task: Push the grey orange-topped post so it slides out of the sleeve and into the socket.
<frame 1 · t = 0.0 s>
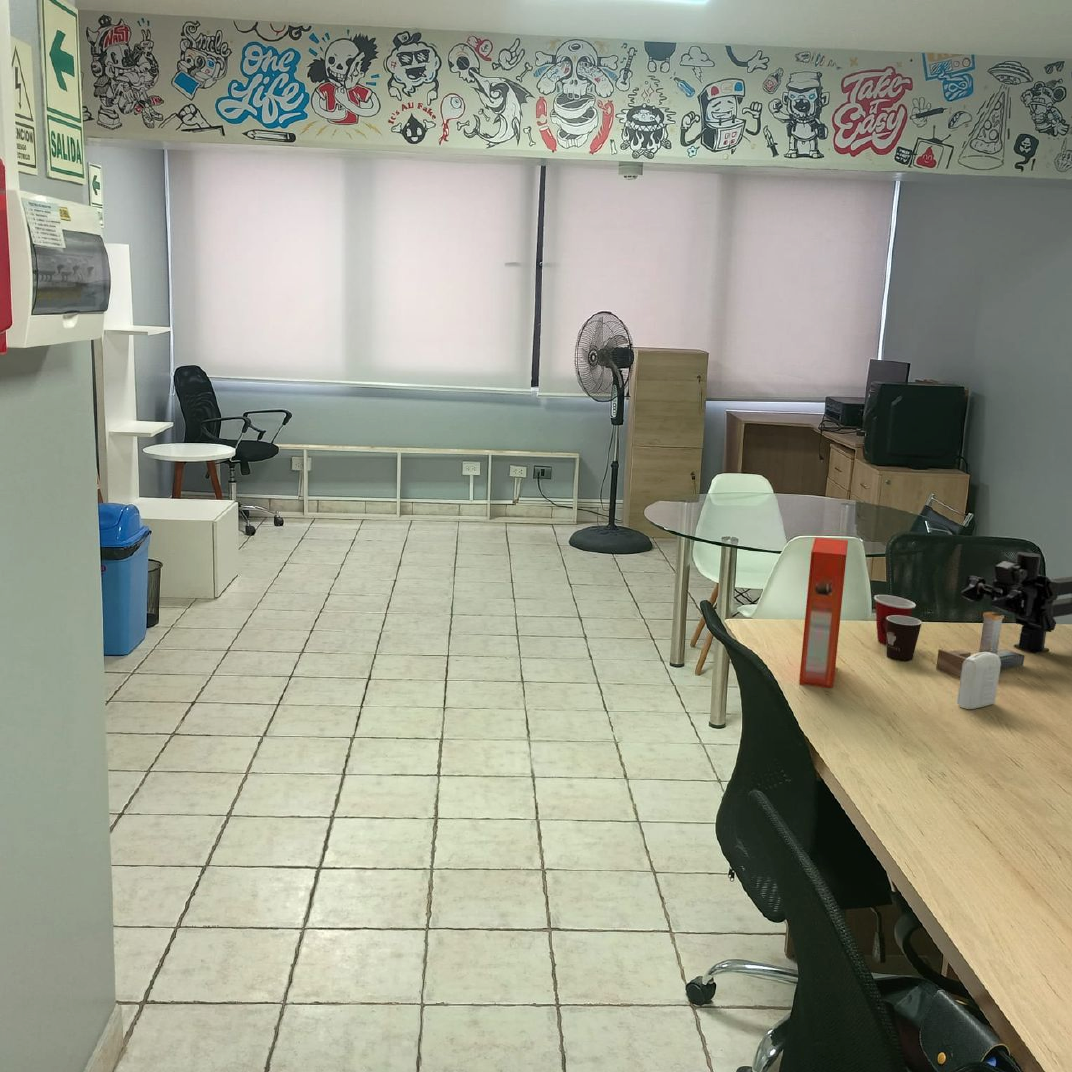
hand: (976, 598, 277), 17 cm above the table, tool horizontal, fingers open, 9 cm apart
photo printer: (975, 705, 249), on the table
socket: (975, 669, 273), on the table
sleeve: (998, 665, 278), on the table
plastic cup: (889, 643, 293), on the table
grey orange-topped post: (998, 638, 276), point 7 cm above the table, slide at 0.0 cm
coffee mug: (897, 656, 282), on the table
file binder: (816, 675, 264), on the table
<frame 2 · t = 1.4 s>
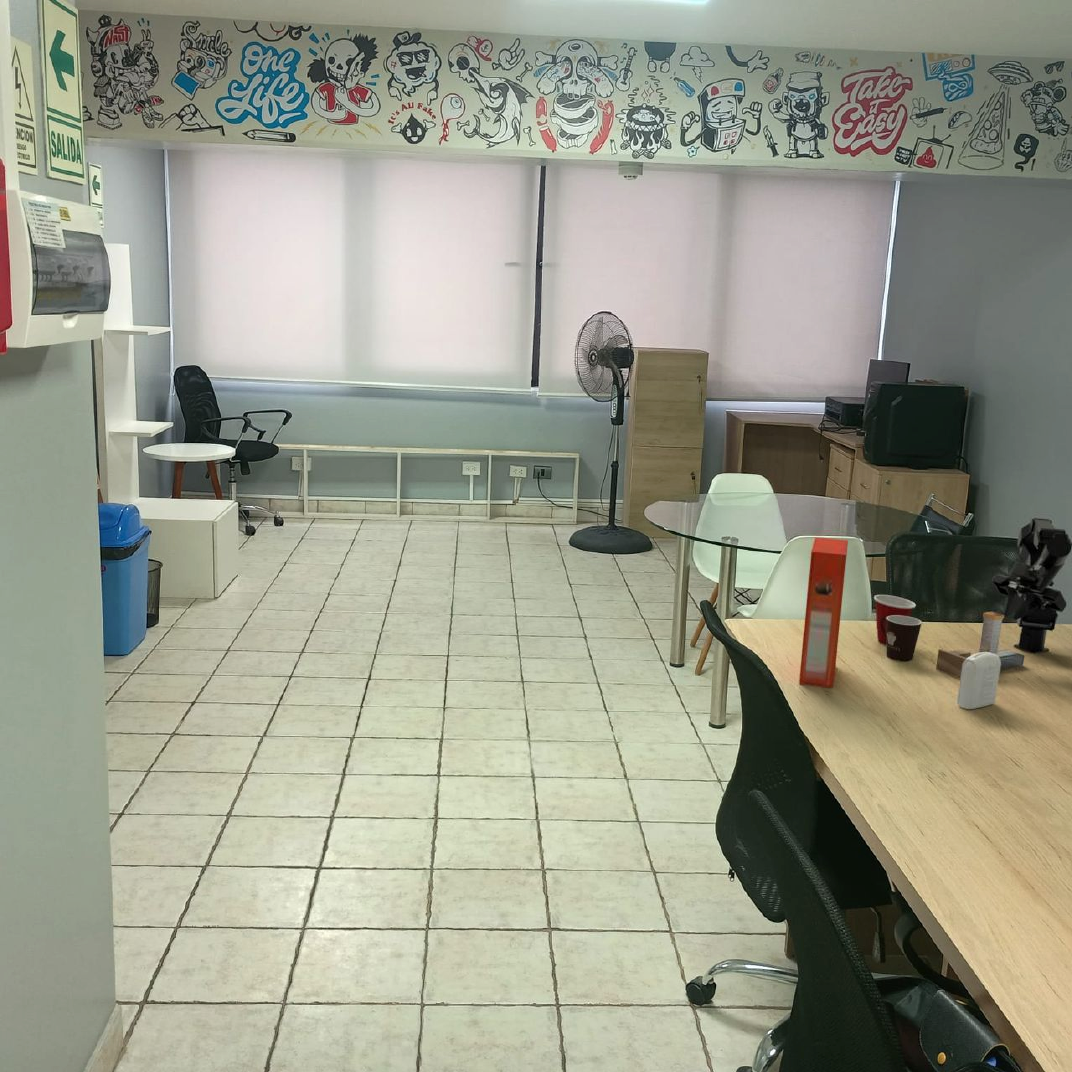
hand: (1009, 617, 276), 13 cm above the table, tool tilted 45°, fingers closed
nothing on the table moved.
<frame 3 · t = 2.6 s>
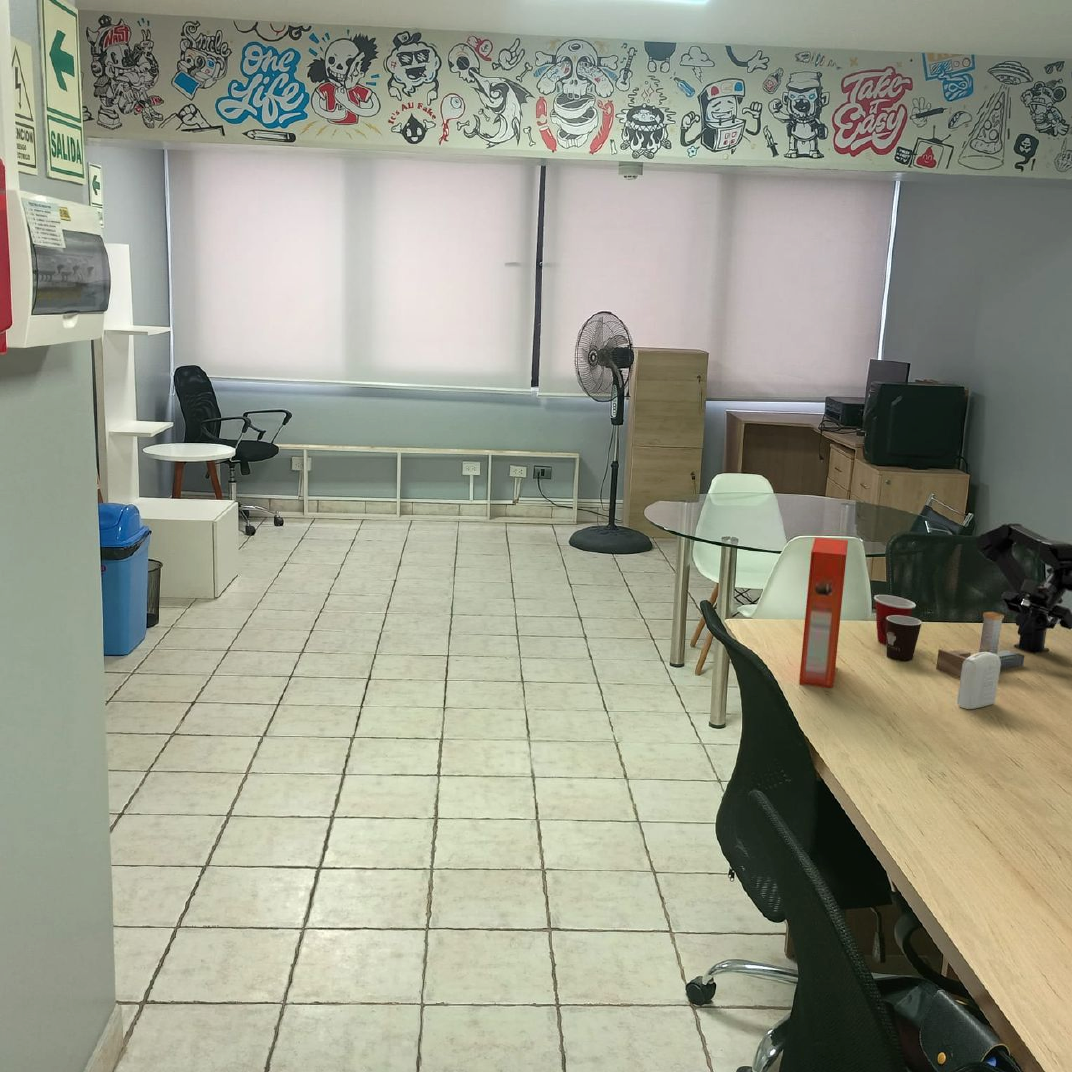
hand: (1019, 634, 279), 8 cm above the table, tool tilted 45°, fingers closed
nothing on the table moved.
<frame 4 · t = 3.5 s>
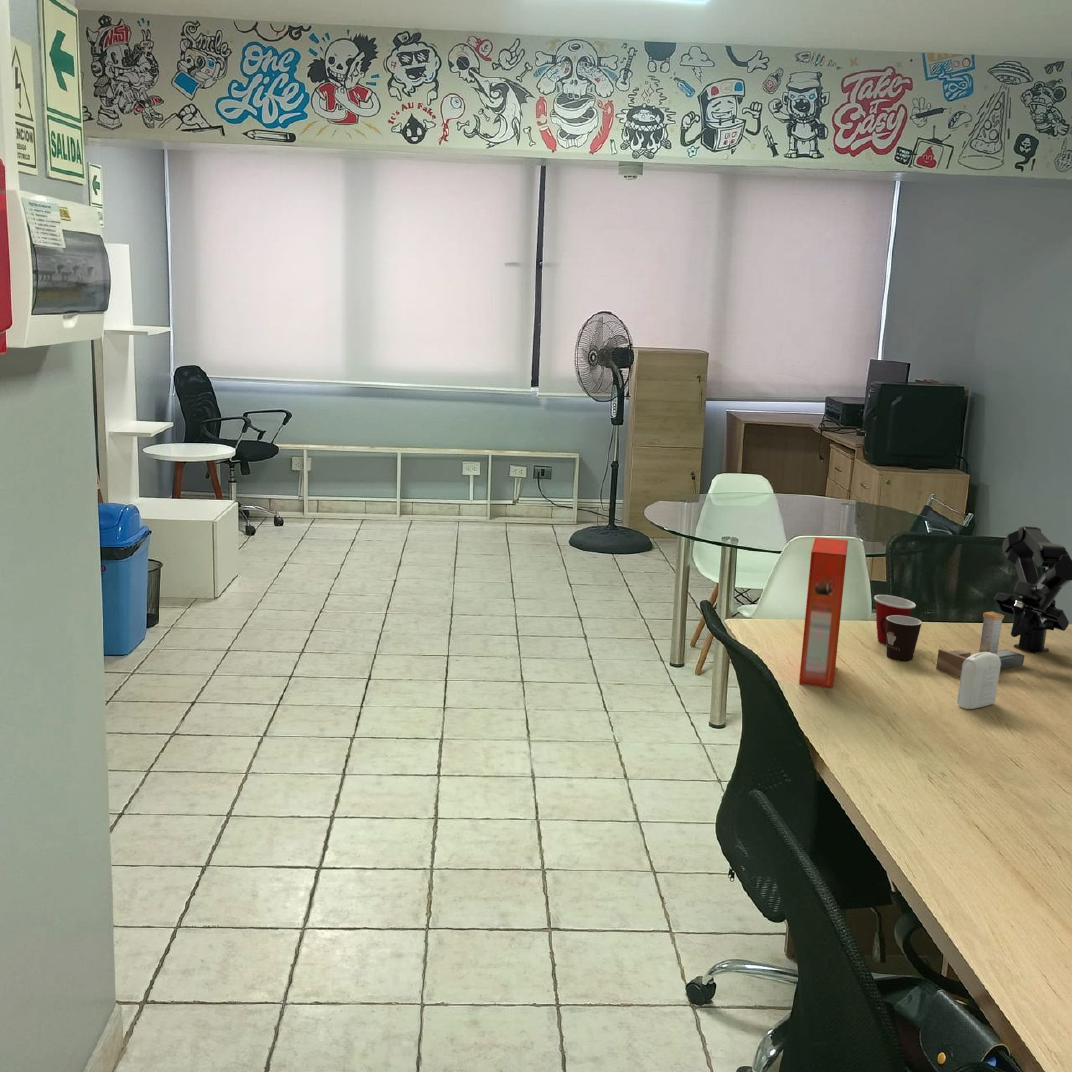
hand: (1012, 635, 278), 8 cm above the table, tool tilted 45°, fingers closed
nothing on the table moved.
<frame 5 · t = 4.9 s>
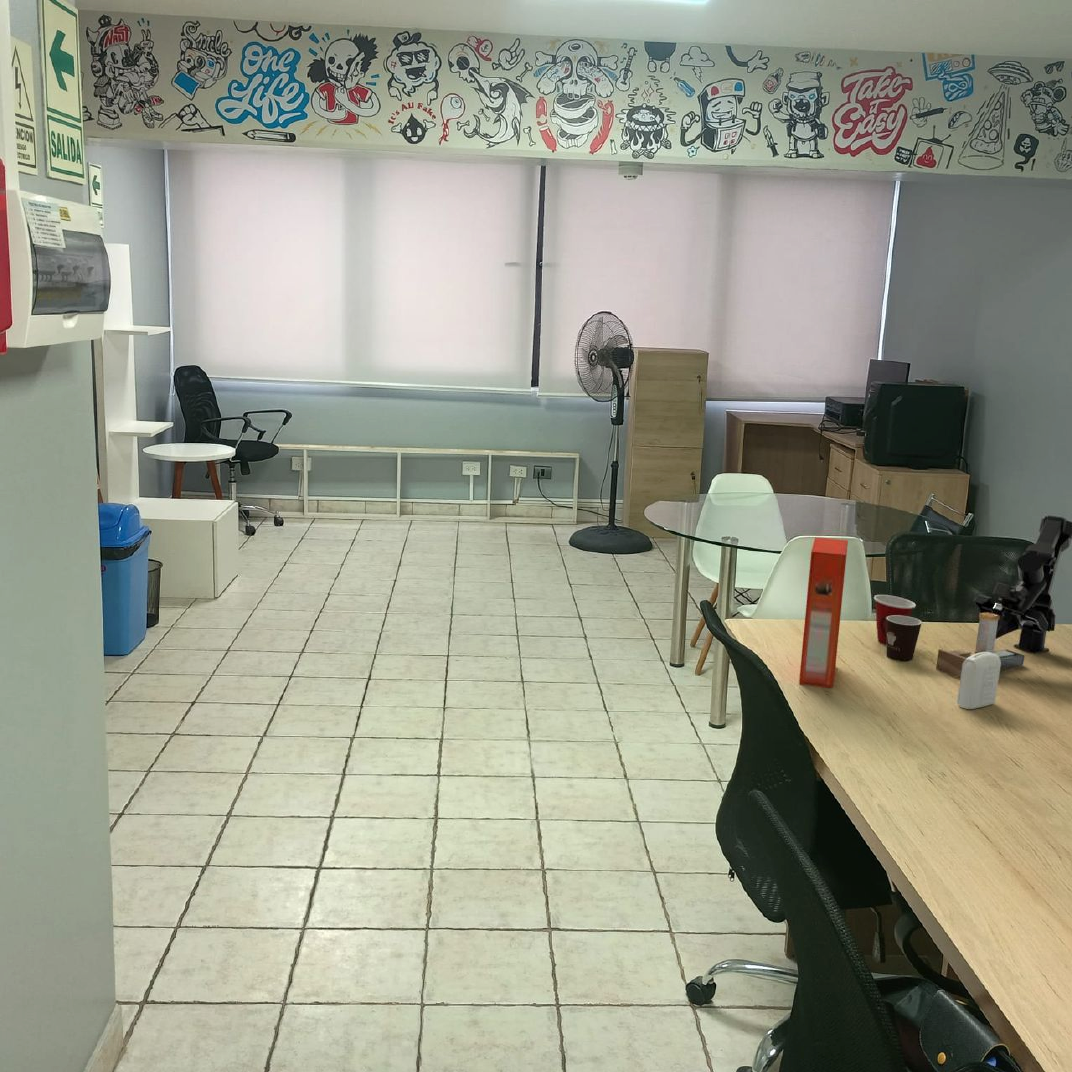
hand: (991, 638, 274), 8 cm above the table, tool tilted 45°, fingers closed, pressing on grey orange-topped post
grey orange-topped post: (994, 638, 275), point 7 cm above the table, slide at 1.6 cm, touching gripper
everything else where it was.
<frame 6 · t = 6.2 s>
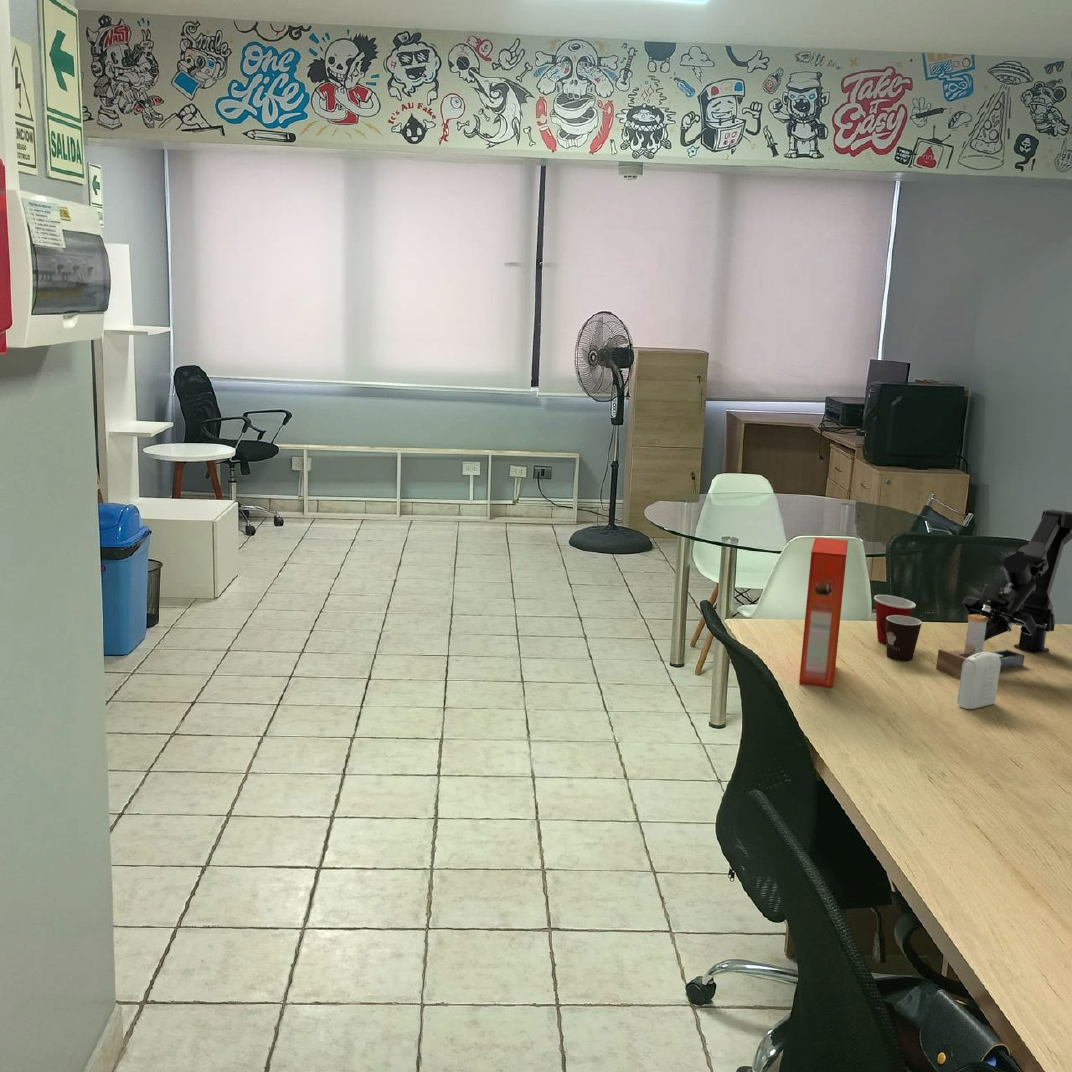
hand: (979, 640, 272), 8 cm above the table, tool tilted 45°, fingers closed, pressing on grey orange-topped post
grey orange-topped post: (983, 640, 273), point 7 cm above the table, slide at 5.8 cm, touching gripper
everything else where it was.
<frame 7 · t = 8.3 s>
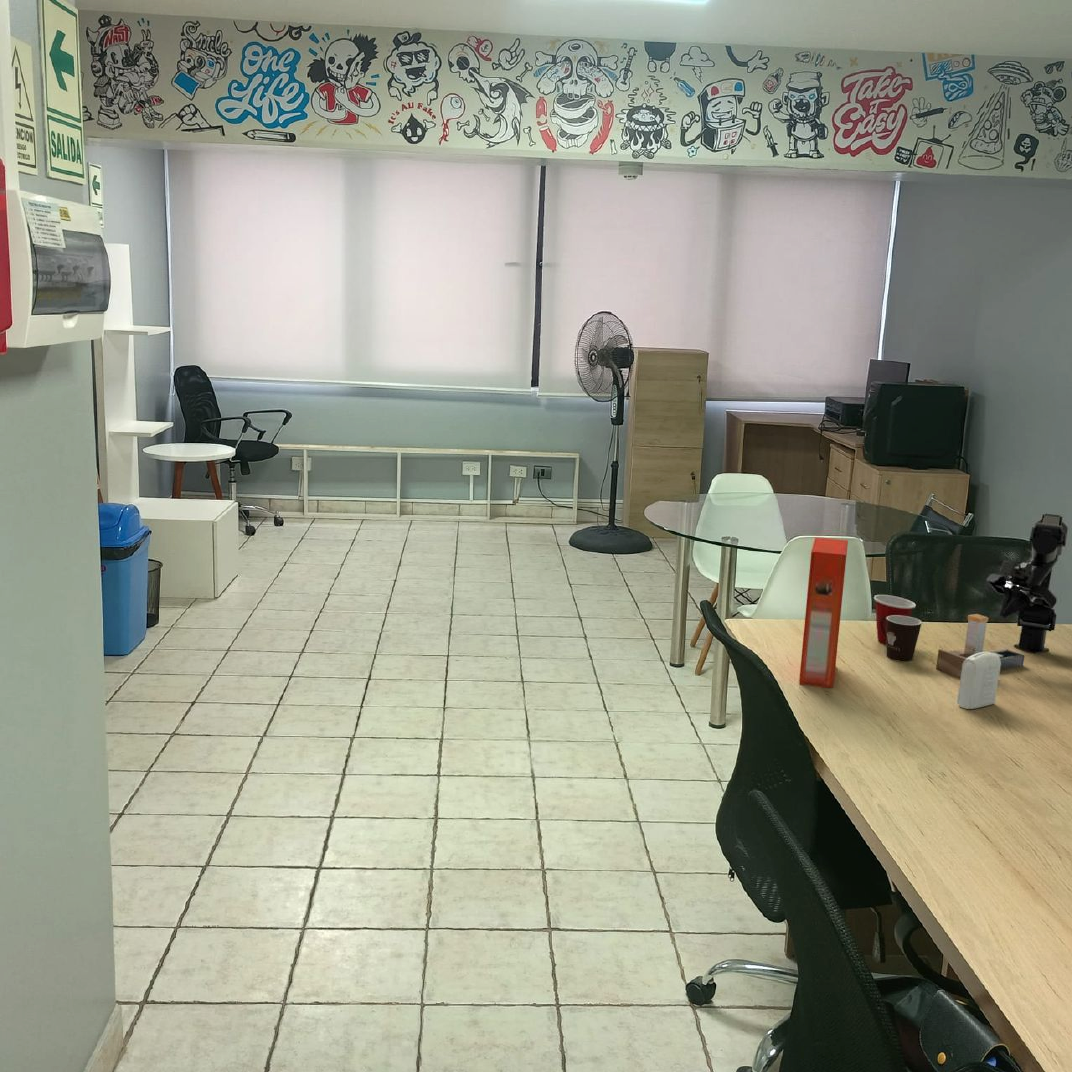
hand: (1001, 616, 277), 12 cm above the table, tool tilted 40°, fingers closed
grey orange-topped post: (983, 640, 273), point 7 cm above the table, slide at 5.8 cm
everything else where it was.
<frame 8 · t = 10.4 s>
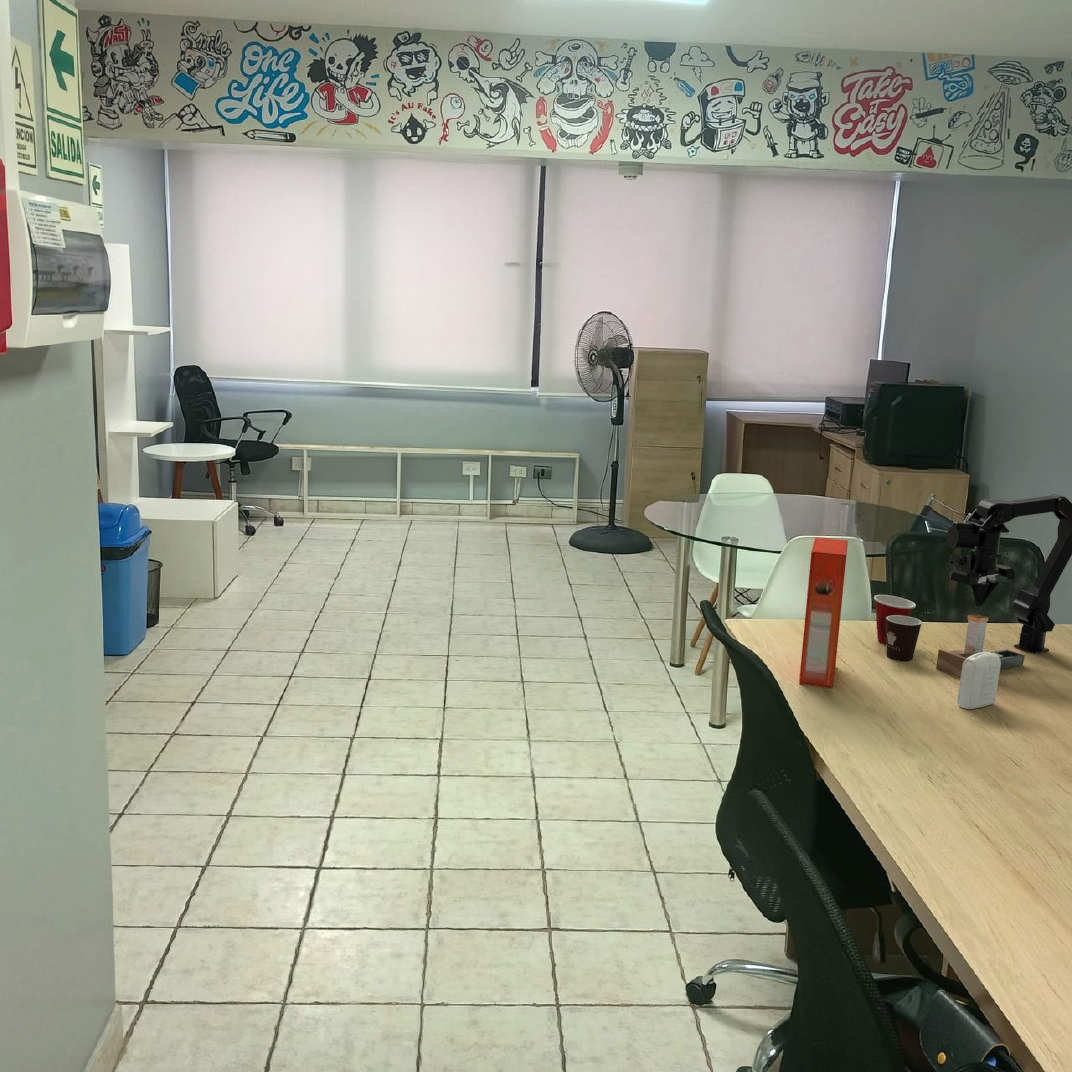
hand: (978, 605, 288), 12 cm above the table, tool pointing down, fingers closed
nothing on the table moved.
at the end: grey orange-topped post slide at 5.8 cm; the gripper is holding nothing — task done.
